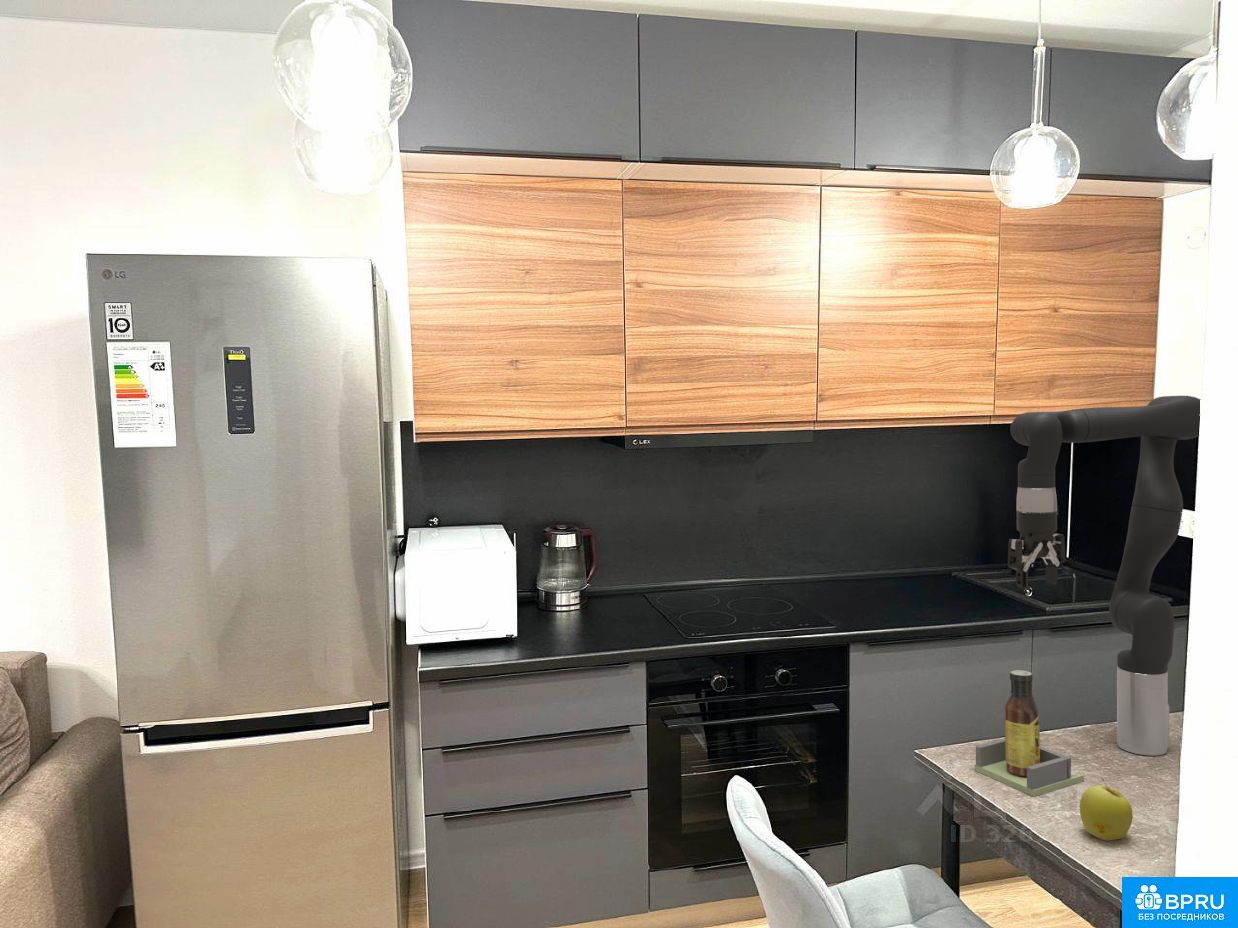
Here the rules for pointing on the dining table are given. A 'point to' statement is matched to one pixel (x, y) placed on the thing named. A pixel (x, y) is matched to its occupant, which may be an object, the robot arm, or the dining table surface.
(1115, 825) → the apple
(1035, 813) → the dining table surface
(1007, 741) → the sauce bottle
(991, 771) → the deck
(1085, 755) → the dining table surface
